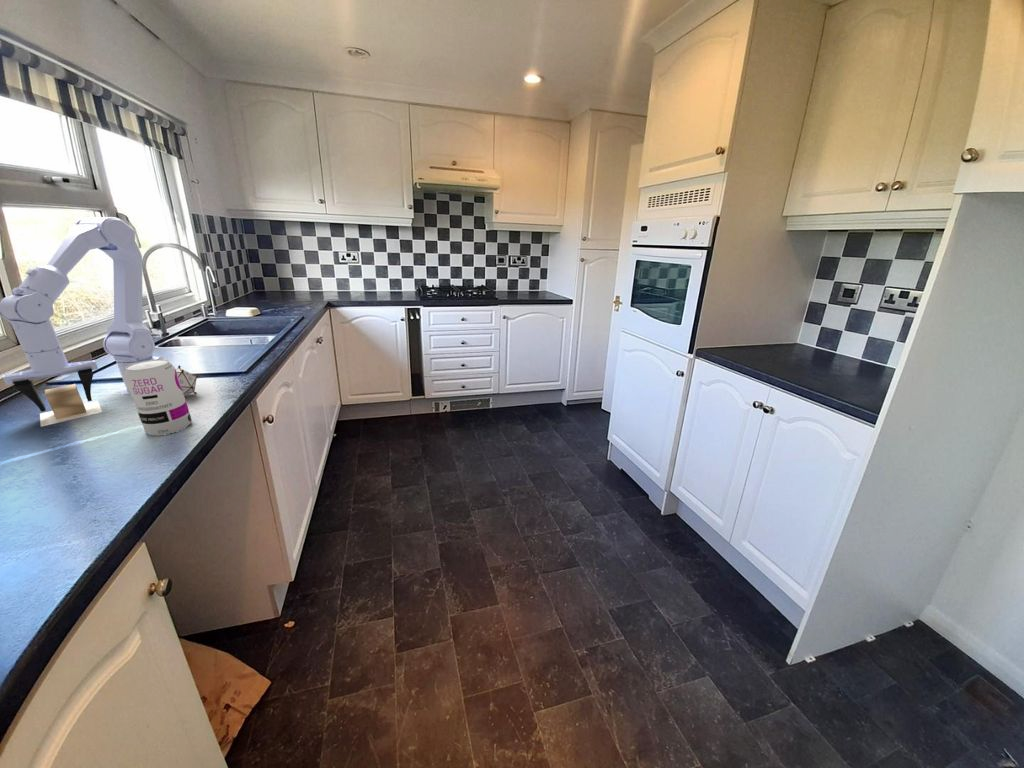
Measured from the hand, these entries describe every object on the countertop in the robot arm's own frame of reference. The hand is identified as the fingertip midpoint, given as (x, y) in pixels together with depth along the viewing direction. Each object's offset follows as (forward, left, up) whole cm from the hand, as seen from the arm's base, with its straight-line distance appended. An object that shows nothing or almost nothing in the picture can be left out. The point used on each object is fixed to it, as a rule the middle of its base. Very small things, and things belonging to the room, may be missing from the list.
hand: (67, 405), depth 96 cm
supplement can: (-25, +16, -3) cm, 30 cm away
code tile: (0, 0, -3) cm, 3 cm away
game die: (-21, -4, -3) cm, 22 cm away
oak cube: (0, 0, -2) cm, 2 cm away
